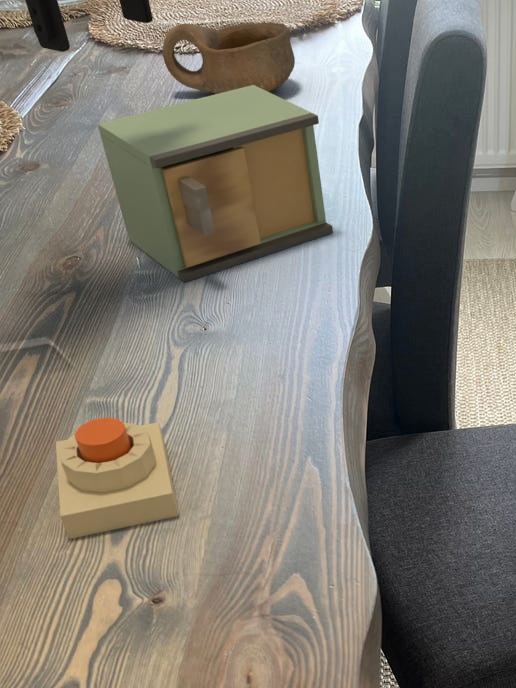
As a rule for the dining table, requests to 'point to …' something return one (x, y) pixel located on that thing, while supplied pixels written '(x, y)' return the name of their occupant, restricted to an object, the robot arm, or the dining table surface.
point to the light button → (102, 440)
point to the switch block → (116, 485)
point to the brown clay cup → (233, 56)
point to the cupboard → (211, 138)
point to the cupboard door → (212, 206)
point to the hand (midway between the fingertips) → (98, 34)
